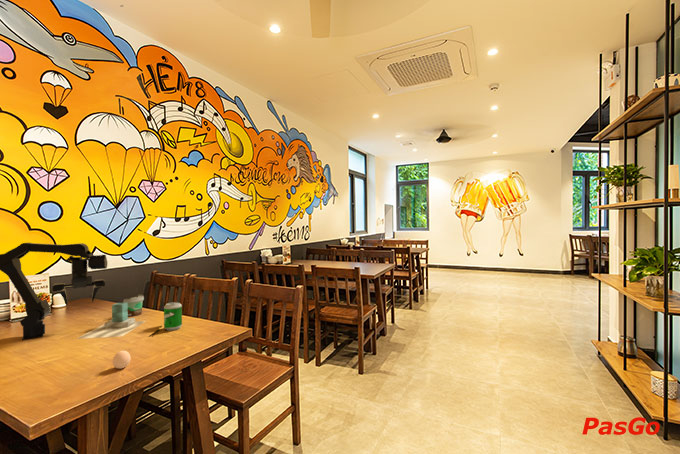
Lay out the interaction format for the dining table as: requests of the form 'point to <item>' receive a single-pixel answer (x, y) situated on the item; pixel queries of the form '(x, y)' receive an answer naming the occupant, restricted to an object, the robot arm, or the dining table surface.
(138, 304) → the food container
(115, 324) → the block
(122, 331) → the birch board
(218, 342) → the dining table surface
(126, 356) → the egg
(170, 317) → the soda can
